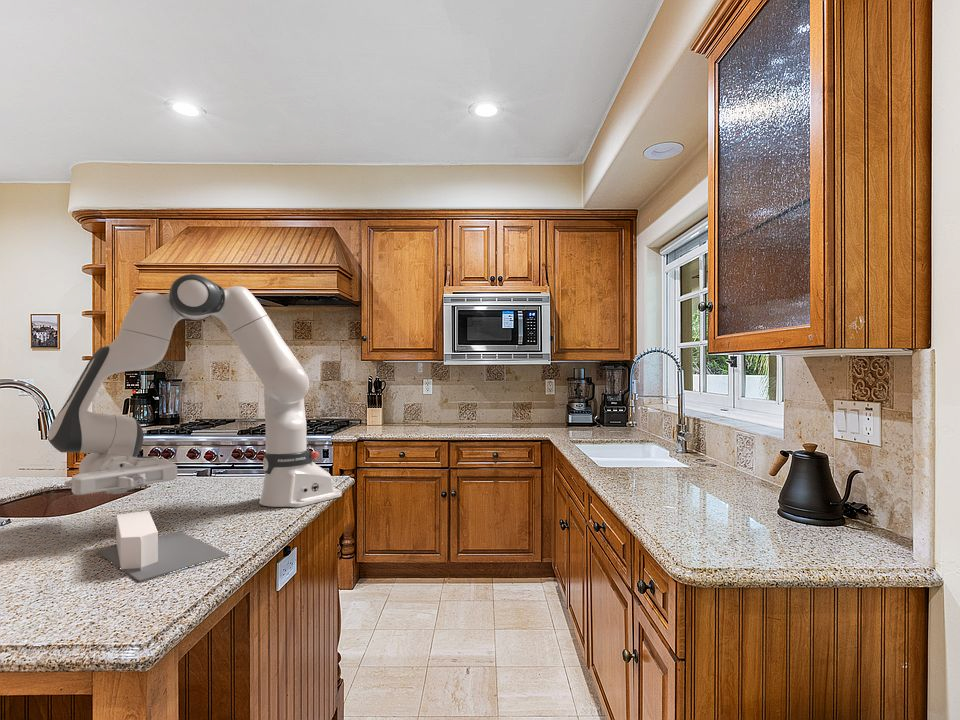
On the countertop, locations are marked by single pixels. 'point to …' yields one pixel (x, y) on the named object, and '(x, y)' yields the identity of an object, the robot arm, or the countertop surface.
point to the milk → (136, 540)
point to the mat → (169, 556)
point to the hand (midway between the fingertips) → (138, 482)
